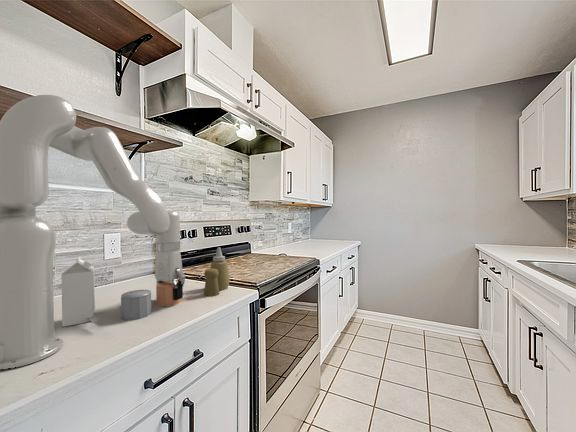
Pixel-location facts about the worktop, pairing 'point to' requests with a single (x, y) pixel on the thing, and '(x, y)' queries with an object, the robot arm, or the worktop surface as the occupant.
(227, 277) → the squeeze bottle
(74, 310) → the milk carton
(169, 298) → the terracotta cup
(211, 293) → the olive pepper shaker
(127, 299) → the grey faceted cylinder
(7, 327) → the robot arm
